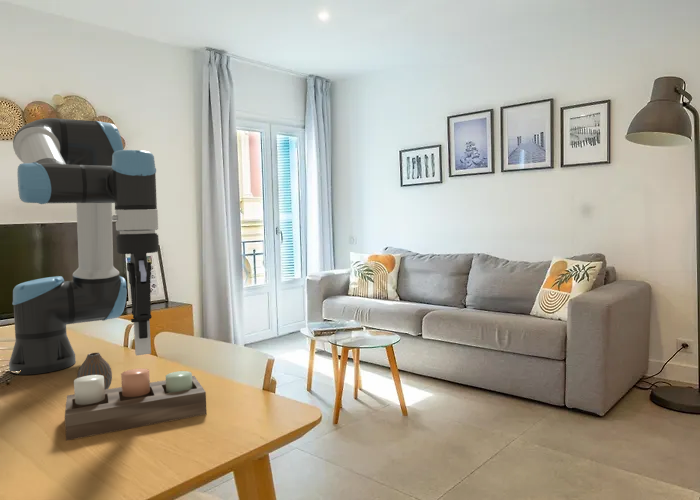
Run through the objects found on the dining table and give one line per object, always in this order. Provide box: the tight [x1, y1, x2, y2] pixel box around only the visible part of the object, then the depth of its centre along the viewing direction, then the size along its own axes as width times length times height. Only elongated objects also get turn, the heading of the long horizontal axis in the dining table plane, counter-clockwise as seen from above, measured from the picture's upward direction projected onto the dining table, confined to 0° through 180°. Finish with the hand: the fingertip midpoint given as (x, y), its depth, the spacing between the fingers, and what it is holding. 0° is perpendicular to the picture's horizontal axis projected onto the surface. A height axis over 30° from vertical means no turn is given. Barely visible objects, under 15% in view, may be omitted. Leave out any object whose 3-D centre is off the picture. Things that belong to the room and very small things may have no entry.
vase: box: [76, 352, 113, 390], centre depth 116 cm, size 7×7×9 cm
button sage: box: [165, 370, 193, 393], centre depth 105 cm, size 5×5×4 cm
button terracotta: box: [120, 368, 151, 397], centre depth 101 cm, size 5×5×4 cm
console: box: [64, 375, 208, 441], centre depth 101 cm, size 12×24×4 cm, turn 117°
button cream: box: [73, 375, 105, 405], centre depth 98 cm, size 5×5×4 cm
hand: (143, 353), depth 102 cm, fingers closed
